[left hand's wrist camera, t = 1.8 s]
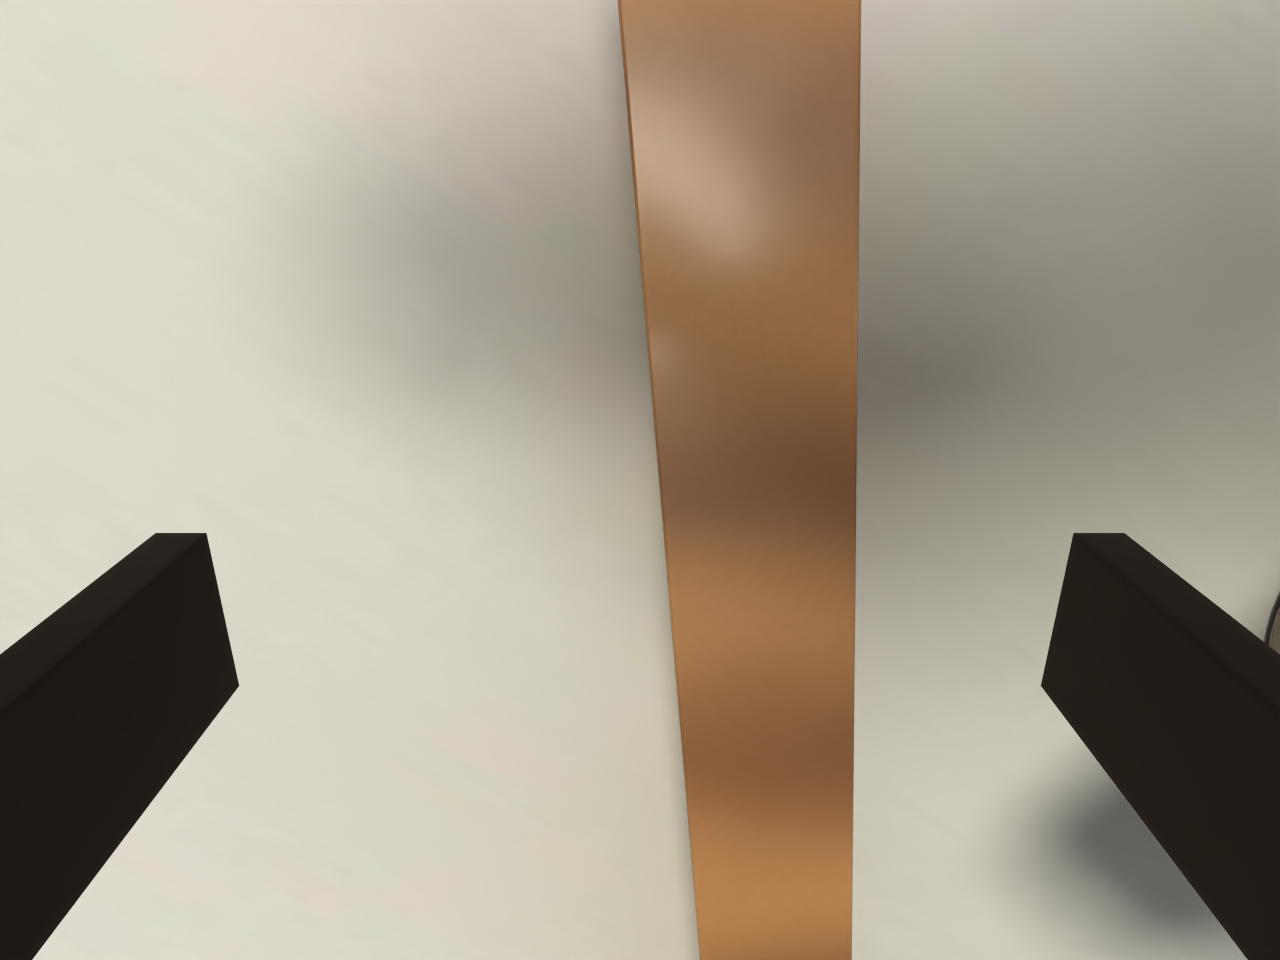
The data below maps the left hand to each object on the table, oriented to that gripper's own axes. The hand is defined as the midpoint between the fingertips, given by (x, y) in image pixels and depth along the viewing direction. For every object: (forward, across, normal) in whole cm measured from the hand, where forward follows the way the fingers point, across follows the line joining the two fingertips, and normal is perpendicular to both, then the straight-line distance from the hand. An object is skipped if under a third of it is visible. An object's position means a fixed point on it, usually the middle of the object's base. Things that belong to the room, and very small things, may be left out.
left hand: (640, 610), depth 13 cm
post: (+17, +5, -22) cm, 28 cm away
